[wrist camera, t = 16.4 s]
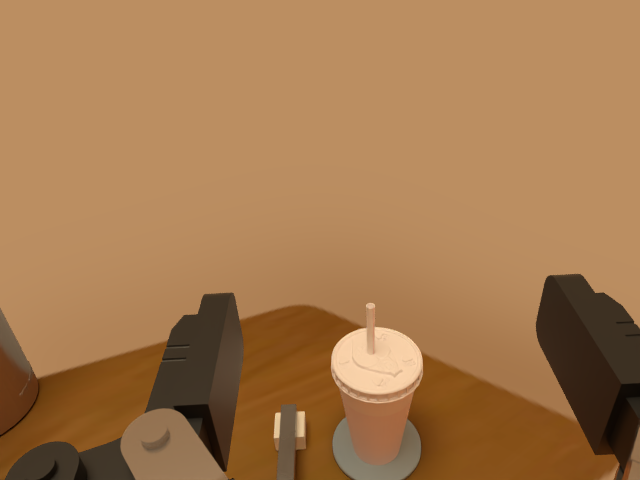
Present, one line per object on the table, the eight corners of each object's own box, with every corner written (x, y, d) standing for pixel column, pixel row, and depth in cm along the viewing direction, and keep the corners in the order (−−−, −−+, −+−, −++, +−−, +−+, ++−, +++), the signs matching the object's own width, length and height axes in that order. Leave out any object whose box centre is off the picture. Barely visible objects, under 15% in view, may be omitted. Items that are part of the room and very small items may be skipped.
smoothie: (374, 398, 46) (374, 268, 38) (434, 445, 41) (447, 309, 34) (319, 443, 42) (307, 310, 34) (378, 499, 38) (379, 361, 30)
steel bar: (293, 554, 34) (291, 544, 33) (274, 555, 34) (272, 545, 33) (297, 413, 43) (296, 404, 43) (282, 414, 43) (281, 404, 43)
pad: (349, 499, 39) (349, 496, 38) (321, 423, 44) (321, 420, 44) (436, 470, 40) (436, 467, 40) (399, 400, 46) (399, 397, 45)
